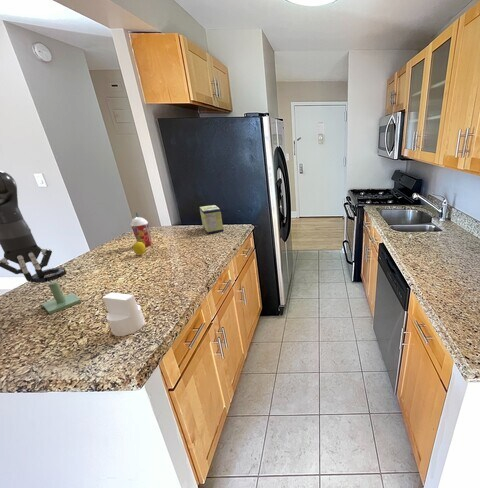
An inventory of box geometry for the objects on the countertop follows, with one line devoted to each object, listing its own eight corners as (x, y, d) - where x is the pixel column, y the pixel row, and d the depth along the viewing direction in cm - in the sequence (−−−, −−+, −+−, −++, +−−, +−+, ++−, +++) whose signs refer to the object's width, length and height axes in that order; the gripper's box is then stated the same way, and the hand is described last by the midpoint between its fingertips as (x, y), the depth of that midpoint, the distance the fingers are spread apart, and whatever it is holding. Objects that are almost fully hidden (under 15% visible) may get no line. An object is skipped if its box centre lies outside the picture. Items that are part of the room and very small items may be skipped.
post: (49, 314, 93) (39, 292, 89) (42, 306, 97) (32, 285, 94) (81, 302, 100) (72, 281, 96) (73, 295, 104) (64, 275, 101)
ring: (37, 285, 89) (35, 281, 88) (30, 278, 93) (28, 274, 92) (69, 275, 95) (67, 271, 95) (61, 269, 100) (60, 265, 99)
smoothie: (156, 242, 157) (148, 210, 150) (149, 248, 149) (139, 214, 142) (142, 243, 157) (133, 210, 149) (133, 248, 149) (123, 214, 141)
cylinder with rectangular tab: (105, 334, 83) (92, 302, 79) (129, 316, 91) (119, 287, 87) (129, 337, 82) (117, 306, 77) (151, 319, 90) (142, 290, 85)
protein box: (218, 225, 188) (214, 204, 182) (224, 231, 176) (220, 209, 170) (202, 228, 182) (198, 206, 176) (207, 234, 170) (203, 211, 165)
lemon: (132, 256, 138) (128, 242, 135) (141, 252, 143) (137, 239, 140) (141, 257, 137) (136, 243, 134) (149, 253, 142) (146, 240, 139)
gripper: (40, 226, 92) (59, 270, 99) (-21, 238, 81) (5, 286, 88) (46, 230, 88) (65, 275, 95) (-17, 243, 78) (10, 292, 84)
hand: (36, 280), depth 91 cm, fingers closed on ring, 1 cm apart
